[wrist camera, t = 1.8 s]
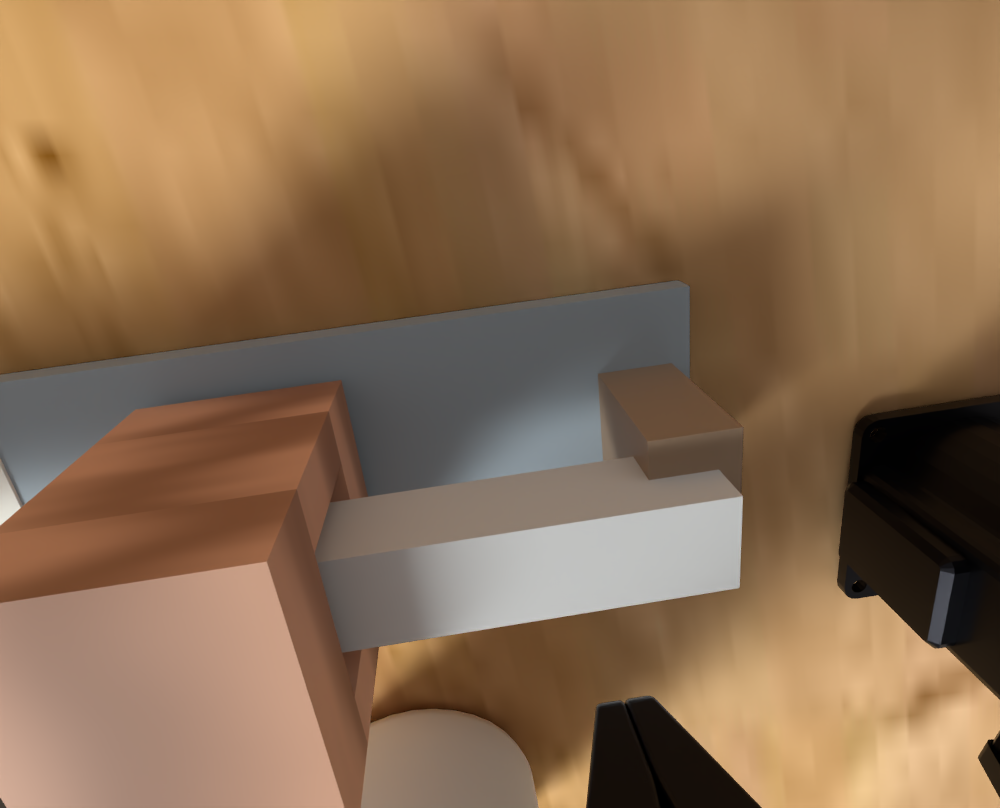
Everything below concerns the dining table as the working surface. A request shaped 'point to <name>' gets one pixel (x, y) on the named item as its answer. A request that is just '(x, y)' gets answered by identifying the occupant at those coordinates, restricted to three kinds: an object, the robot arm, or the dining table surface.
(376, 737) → the milk bottle
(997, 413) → the robot arm
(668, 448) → the rail
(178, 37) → the dining table surface
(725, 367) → the dining table surface
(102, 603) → the collar
